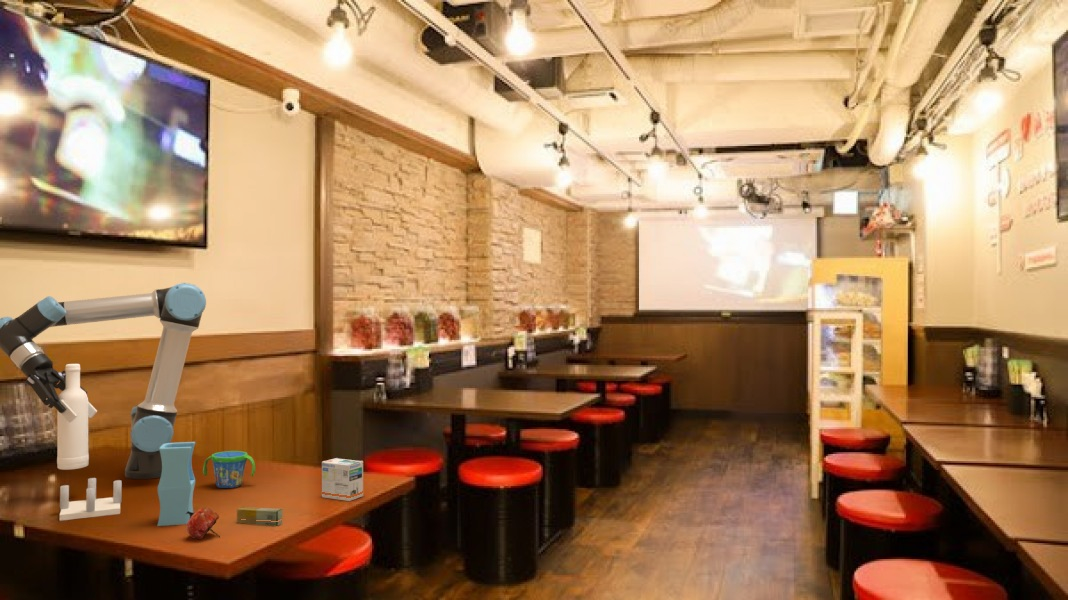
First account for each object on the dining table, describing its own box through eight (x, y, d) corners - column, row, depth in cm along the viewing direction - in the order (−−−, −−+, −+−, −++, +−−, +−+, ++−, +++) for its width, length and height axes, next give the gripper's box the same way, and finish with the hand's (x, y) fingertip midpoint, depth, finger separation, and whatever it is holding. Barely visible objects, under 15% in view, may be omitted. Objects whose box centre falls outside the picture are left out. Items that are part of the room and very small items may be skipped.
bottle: (50, 468, 217) (50, 364, 217) (75, 462, 224) (75, 362, 224) (70, 470, 214) (70, 365, 214) (95, 464, 221) (94, 363, 221)
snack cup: (260, 482, 240) (260, 451, 240) (245, 491, 229) (246, 457, 229) (213, 481, 241) (213, 450, 241) (196, 489, 230) (196, 456, 230)
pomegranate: (220, 540, 189) (190, 516, 189) (235, 519, 187) (205, 494, 188) (203, 553, 181) (171, 527, 182) (218, 531, 180) (187, 505, 181)
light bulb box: (363, 496, 224) (364, 460, 224) (349, 501, 218) (349, 464, 218) (335, 492, 229) (335, 457, 229) (320, 497, 223) (320, 461, 223)
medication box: (283, 523, 197) (283, 508, 197) (278, 526, 194) (278, 511, 194) (241, 521, 199) (241, 506, 199) (235, 524, 196) (235, 508, 196)
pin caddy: (121, 501, 216) (121, 475, 216) (121, 513, 204) (121, 486, 204) (61, 507, 209) (61, 480, 209) (58, 521, 197) (58, 492, 197)
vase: (190, 523, 195) (191, 447, 195) (157, 526, 193) (157, 448, 193) (194, 515, 203) (195, 441, 203) (163, 517, 201) (163, 443, 201)
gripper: (50, 367, 231) (99, 420, 229) (-5, 373, 210) (49, 432, 209) (66, 350, 230) (115, 403, 229) (13, 355, 210) (66, 413, 208)
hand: (83, 416), depth 219 cm, fingers closed on bottle, 8 cm apart
